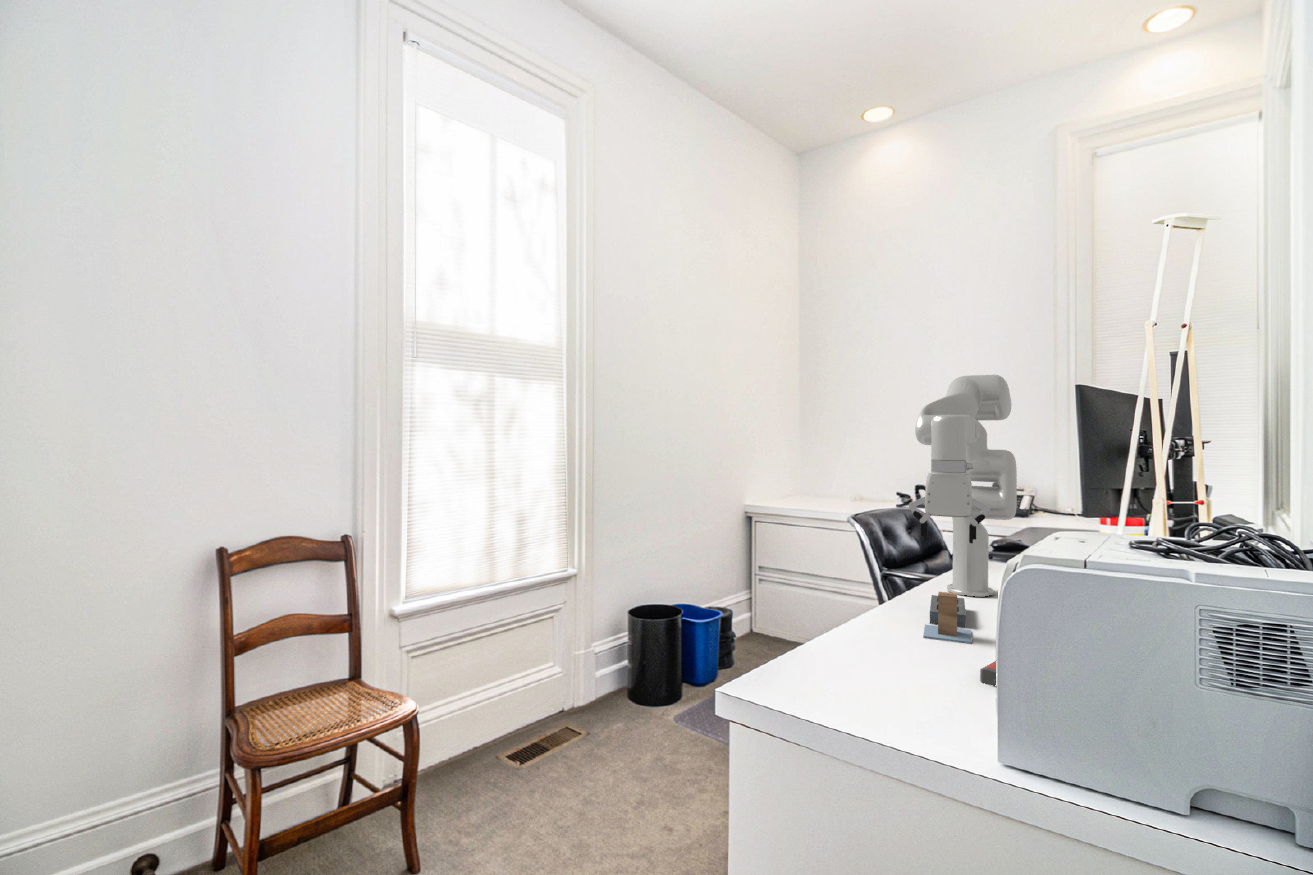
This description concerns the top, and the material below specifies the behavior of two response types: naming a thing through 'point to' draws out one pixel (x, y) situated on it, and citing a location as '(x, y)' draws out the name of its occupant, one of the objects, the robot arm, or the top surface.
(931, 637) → the pad
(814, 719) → the top surface
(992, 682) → the walkie-talkie
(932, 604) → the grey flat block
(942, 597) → the plug
